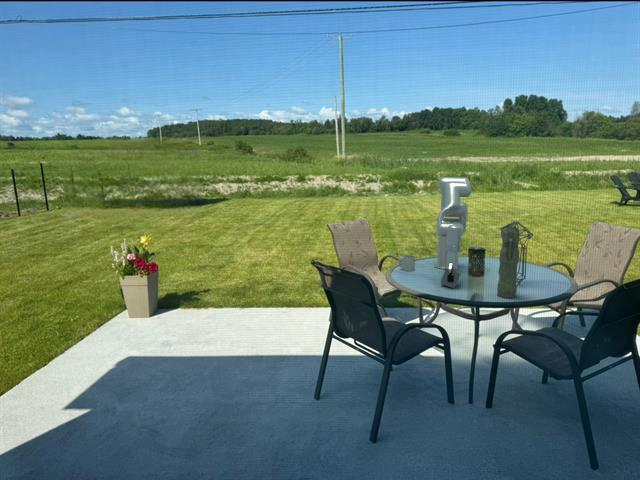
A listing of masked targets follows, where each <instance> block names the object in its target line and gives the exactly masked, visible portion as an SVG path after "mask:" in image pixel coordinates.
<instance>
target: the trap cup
mask: <svg viewBox="0 0 640 480" xmlns="http://www.w3.org/2000/svg"><path fill="white" fill-rule="evenodd" d="M452 272H453V271H452ZM462 272H463V270H461V269H459V268H457V269H456V270H454V274H453V275H454V282H453V283H452V282H447V278H448V269H447V270H446V269H444V272H443V275H442V277H441V279H440V281H439V282H440V284H441V285H445V286H446V287H449V288H452V289H455V288H456V287H457V284H458V282H459V280H460V277H461V274H462Z"/></svg>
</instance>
